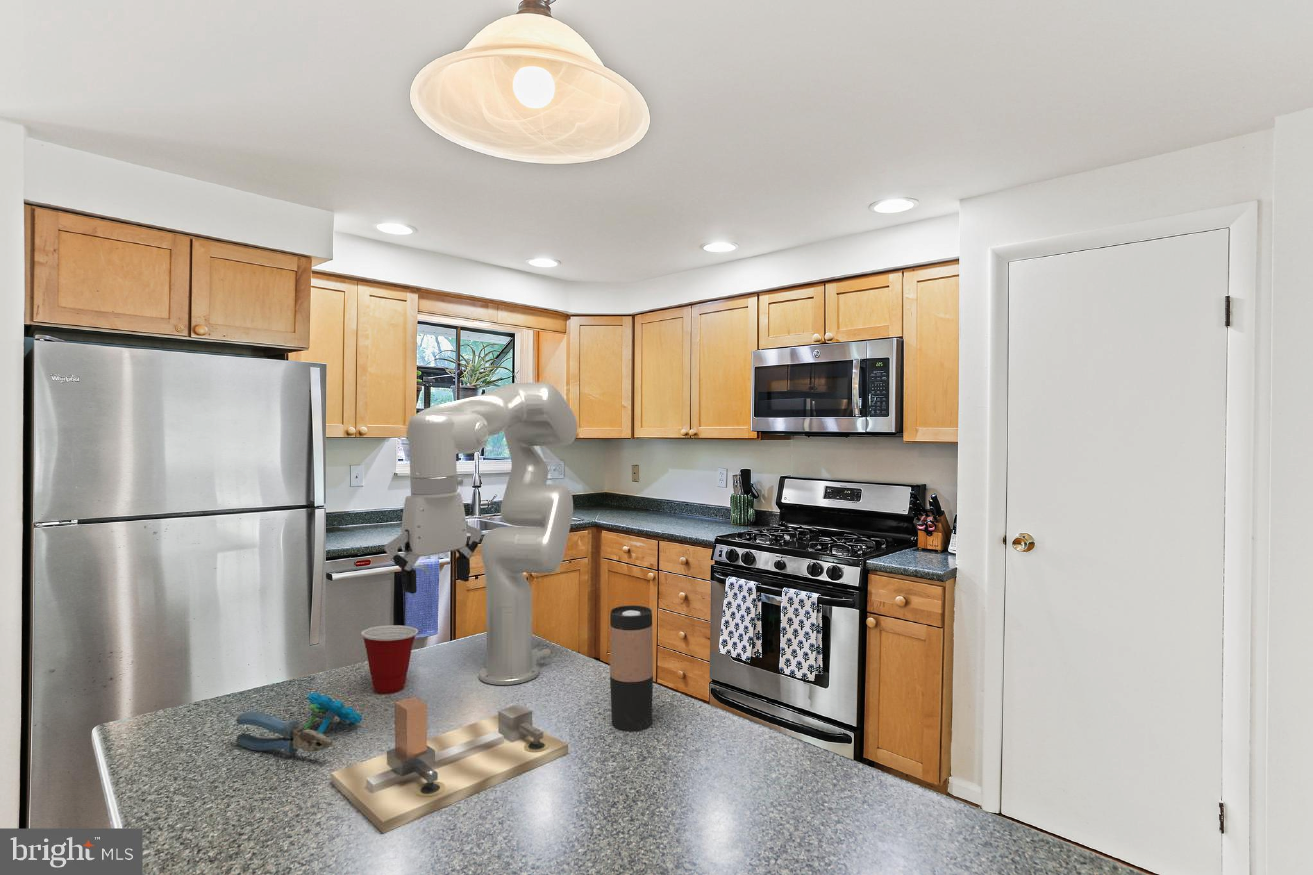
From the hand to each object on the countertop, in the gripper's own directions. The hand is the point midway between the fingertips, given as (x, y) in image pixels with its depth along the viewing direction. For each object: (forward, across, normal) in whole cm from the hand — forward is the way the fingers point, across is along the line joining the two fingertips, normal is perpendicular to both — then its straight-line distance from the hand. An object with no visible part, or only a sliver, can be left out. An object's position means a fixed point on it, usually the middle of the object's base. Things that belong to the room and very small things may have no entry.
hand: (437, 585), depth 114 cm
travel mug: (+26, -25, +22) cm, 42 cm away
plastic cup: (+26, -3, -26) cm, 37 cm away
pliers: (+25, +22, -11) cm, 35 cm away
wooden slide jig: (+25, +5, +13) cm, 29 cm away
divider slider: (+23, +12, +15) cm, 30 cm away
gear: (+26, +13, -15) cm, 32 cm away
